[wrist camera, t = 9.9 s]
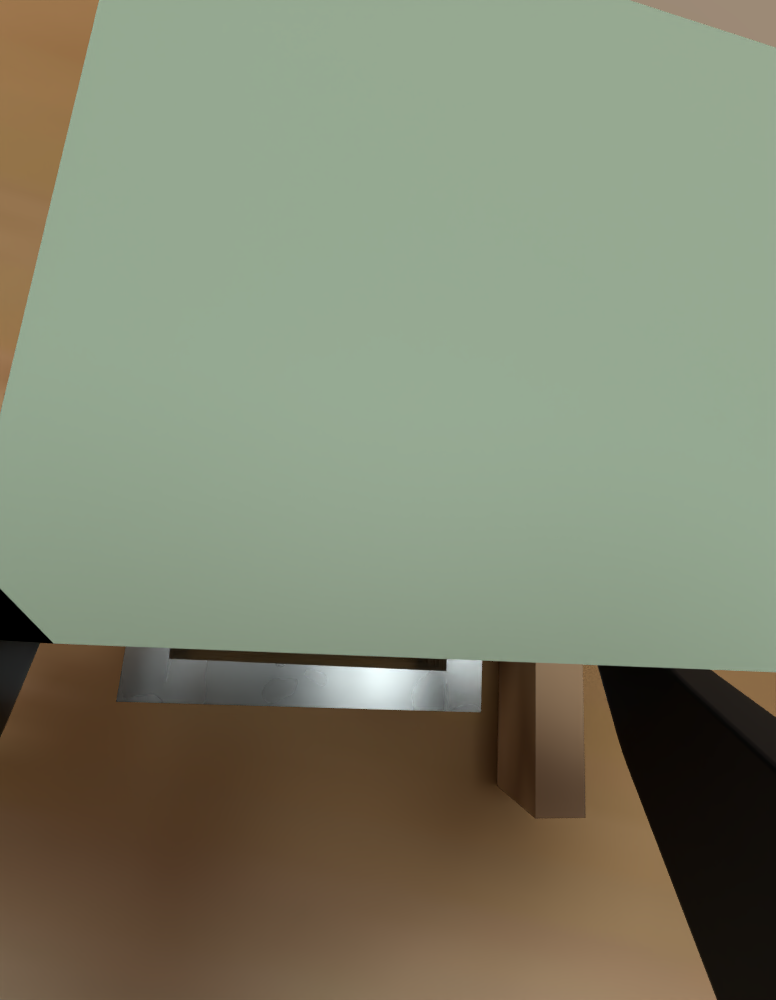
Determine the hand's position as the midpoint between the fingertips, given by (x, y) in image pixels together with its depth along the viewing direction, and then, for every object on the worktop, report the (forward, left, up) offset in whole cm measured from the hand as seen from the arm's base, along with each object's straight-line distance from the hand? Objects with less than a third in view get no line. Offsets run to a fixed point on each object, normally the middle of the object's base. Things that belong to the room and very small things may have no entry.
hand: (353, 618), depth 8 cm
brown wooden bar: (+2, -7, -8) cm, 11 cm away
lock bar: (+2, 0, -8) cm, 9 cm away
